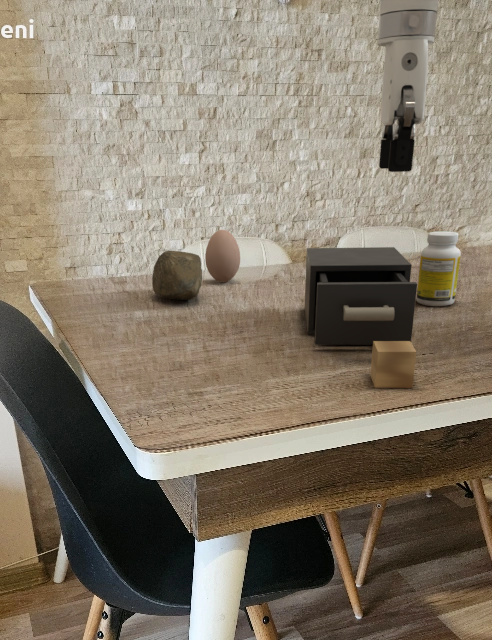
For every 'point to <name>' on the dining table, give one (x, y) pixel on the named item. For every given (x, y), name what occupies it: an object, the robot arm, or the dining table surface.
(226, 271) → the egg
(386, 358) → the block
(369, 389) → the dining table surface
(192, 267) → the stone
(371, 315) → the pull-out drawer
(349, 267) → the dark grey drawer unit
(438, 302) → the pill bottle
